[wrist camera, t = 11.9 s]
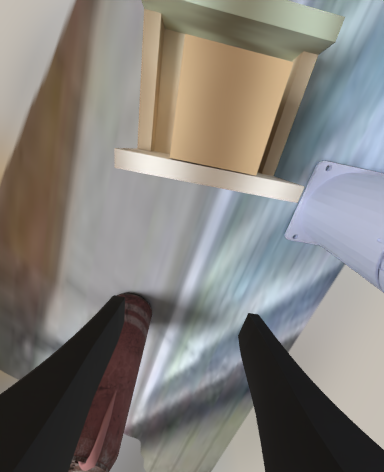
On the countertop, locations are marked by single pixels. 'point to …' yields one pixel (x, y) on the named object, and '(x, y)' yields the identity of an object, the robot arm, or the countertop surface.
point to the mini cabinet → (226, 104)
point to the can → (114, 393)
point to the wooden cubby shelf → (234, 34)
